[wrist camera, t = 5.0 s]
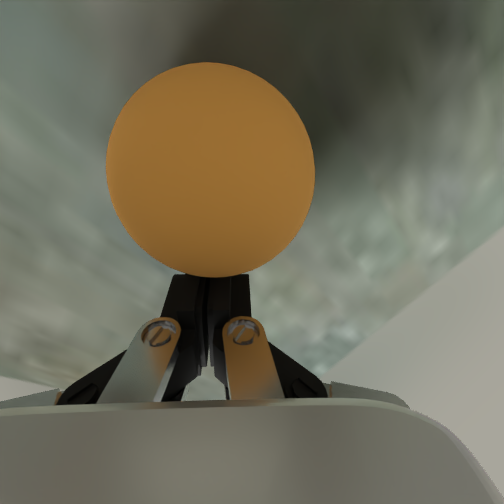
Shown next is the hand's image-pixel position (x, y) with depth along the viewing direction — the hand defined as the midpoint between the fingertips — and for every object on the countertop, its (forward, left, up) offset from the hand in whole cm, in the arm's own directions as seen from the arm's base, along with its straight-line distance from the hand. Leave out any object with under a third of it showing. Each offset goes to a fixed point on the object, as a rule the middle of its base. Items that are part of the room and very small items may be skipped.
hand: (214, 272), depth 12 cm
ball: (+1, +5, +2) cm, 5 cm away
